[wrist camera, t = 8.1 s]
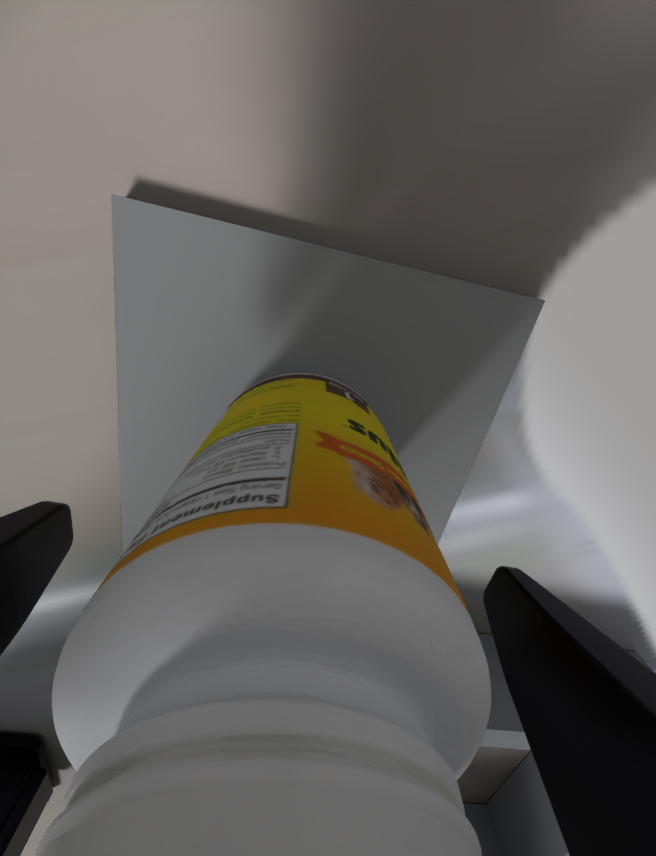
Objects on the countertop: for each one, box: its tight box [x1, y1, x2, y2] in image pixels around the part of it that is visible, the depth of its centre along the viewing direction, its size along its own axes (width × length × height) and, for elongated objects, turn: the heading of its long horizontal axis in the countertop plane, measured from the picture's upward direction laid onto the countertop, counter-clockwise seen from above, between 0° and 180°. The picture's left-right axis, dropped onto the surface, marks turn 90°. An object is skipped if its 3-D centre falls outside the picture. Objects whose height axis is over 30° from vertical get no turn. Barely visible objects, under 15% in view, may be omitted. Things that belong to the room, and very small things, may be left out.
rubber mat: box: [112, 194, 545, 553], centre depth 12 cm, size 12×12×1 cm
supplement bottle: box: [36, 373, 491, 856], centre depth 7 cm, size 6×6×10 cm
